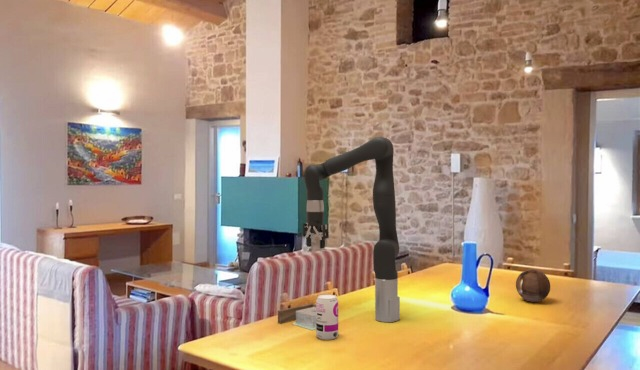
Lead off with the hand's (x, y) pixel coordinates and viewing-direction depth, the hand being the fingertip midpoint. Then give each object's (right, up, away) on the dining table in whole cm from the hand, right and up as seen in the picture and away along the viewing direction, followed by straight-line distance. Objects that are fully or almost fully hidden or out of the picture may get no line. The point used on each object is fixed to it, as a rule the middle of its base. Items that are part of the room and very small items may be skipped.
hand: (315, 247), depth 234 cm
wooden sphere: (+102, -28, +17) cm, 107 cm away
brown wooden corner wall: (-4, -28, -16) cm, 33 cm away
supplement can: (+5, -29, -36) cm, 47 cm away
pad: (-1, -29, -20) cm, 35 cm away
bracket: (-1, -28, -20) cm, 34 cm away
